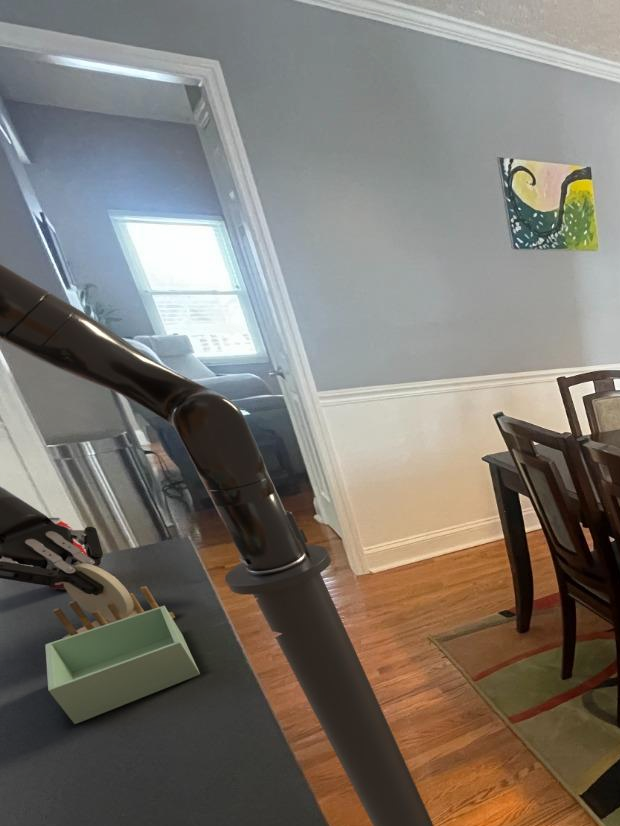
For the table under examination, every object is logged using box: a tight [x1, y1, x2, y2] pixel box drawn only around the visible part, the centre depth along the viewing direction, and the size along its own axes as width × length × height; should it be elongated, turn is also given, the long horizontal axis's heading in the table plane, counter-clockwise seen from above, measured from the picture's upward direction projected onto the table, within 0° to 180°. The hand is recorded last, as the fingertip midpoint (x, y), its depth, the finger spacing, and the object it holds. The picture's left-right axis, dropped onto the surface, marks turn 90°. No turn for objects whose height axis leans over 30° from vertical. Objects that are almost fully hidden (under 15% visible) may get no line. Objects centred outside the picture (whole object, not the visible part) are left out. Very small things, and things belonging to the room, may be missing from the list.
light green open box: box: [44, 605, 201, 725], centre depth 83 cm, size 15×13×6 cm
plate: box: [63, 563, 135, 621], centre depth 92 cm, size 1×10×10 cm, turn 82°
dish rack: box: [52, 585, 176, 639], centre depth 94 cm, size 8×11×6 cm
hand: (106, 588), depth 91 cm, fingers closed on plate, 1 cm apart
